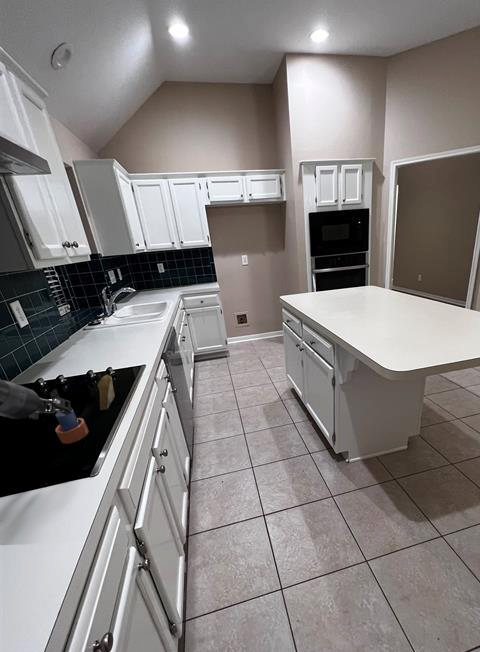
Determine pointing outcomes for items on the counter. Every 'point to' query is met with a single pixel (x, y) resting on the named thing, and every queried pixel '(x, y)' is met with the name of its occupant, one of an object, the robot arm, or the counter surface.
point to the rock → (106, 392)
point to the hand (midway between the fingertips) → (53, 413)
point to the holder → (73, 432)
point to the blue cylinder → (67, 421)
